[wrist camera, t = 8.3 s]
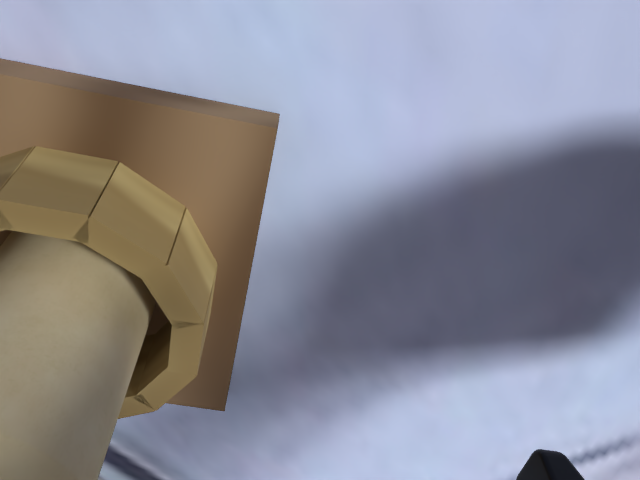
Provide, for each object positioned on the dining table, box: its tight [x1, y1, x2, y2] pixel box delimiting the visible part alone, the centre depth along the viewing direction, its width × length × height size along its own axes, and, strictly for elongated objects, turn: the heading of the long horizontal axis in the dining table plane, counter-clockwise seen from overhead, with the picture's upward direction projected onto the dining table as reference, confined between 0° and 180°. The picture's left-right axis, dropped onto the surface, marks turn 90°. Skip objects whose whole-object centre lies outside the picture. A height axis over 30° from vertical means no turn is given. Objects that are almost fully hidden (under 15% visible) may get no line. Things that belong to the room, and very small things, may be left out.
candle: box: [0, 231, 156, 480], centre depth 18 cm, size 6×6×10 cm
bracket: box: [0, 59, 280, 419], centre depth 21 cm, size 12×14×4 cm
